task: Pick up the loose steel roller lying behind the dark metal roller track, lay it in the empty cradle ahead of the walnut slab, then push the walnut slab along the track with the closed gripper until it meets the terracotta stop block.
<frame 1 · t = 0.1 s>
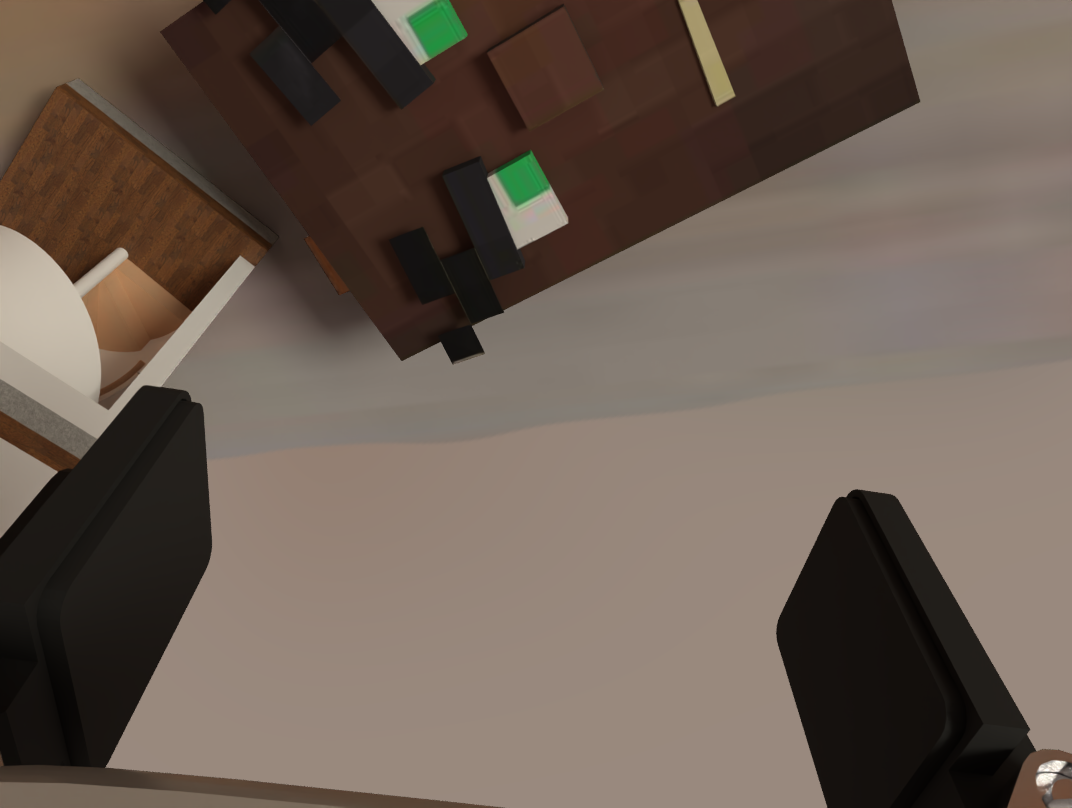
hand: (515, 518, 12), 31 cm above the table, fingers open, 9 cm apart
display case: (133, 232, 43), on the table
decorative book: (546, 40, 38), on the table
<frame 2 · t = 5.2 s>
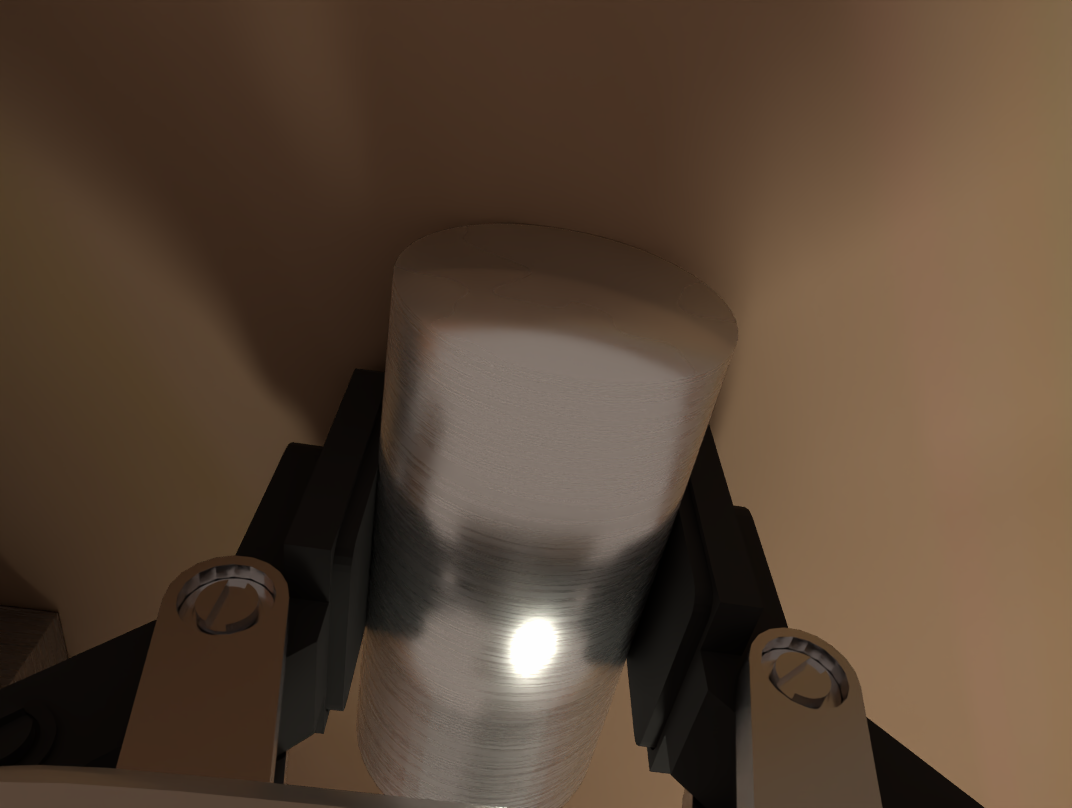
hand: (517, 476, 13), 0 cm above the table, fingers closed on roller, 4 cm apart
roller: (522, 461, 13), on the table, touching gripper
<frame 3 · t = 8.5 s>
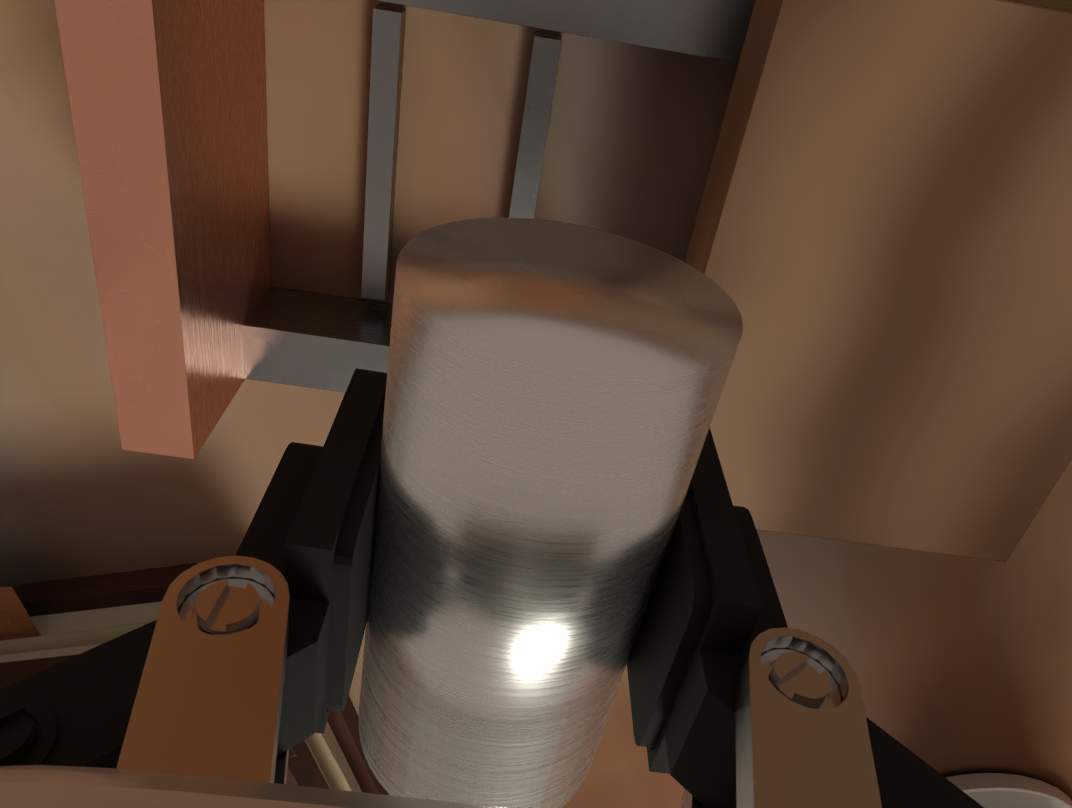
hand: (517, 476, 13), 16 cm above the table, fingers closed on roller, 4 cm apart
track: (637, 201, 26), on the table
slab: (904, 305, 22), point 5 cm above the table, slide at 0.0 cm
roller: (524, 457, 13), point 15 cm above the table, touching gripper
decorative book: (216, 736, 43), on the table
when the fingers open (2 cm above the table, at t = 11.9 s): roller drops 1 cm, resting in track.
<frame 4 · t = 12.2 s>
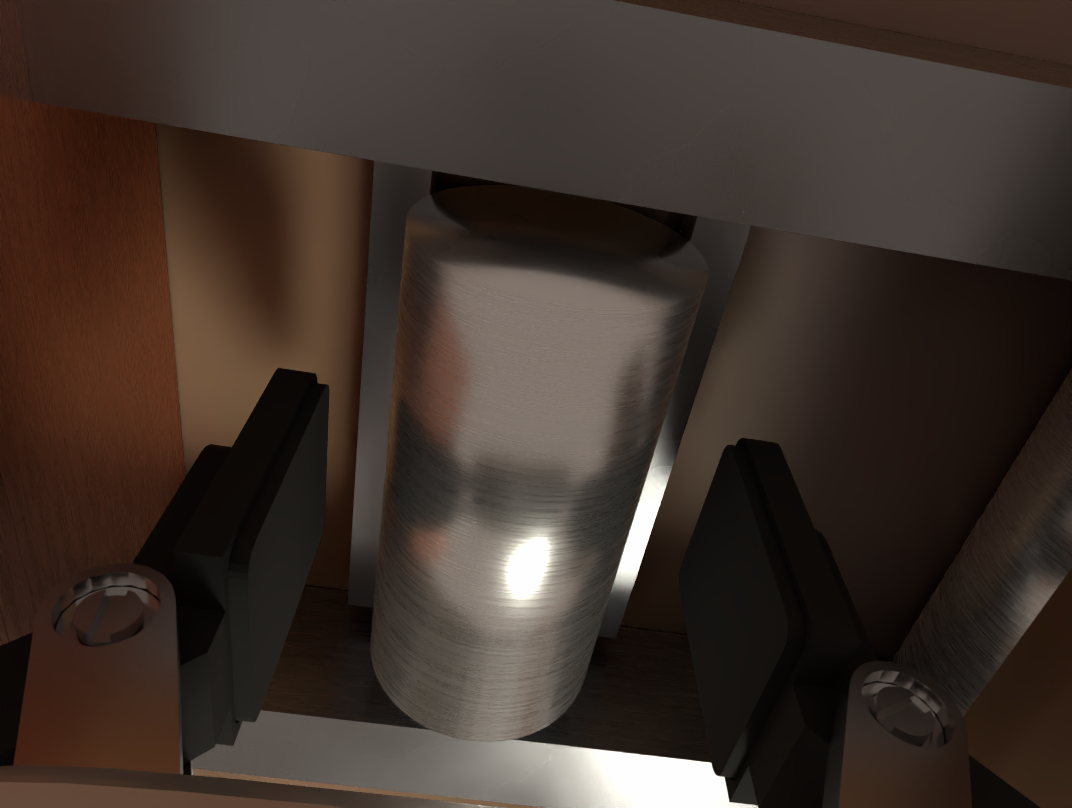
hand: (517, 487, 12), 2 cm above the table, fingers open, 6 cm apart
track: (842, 462, 15), on the table
roller: (532, 409, 14), resting in track, tilted 8°
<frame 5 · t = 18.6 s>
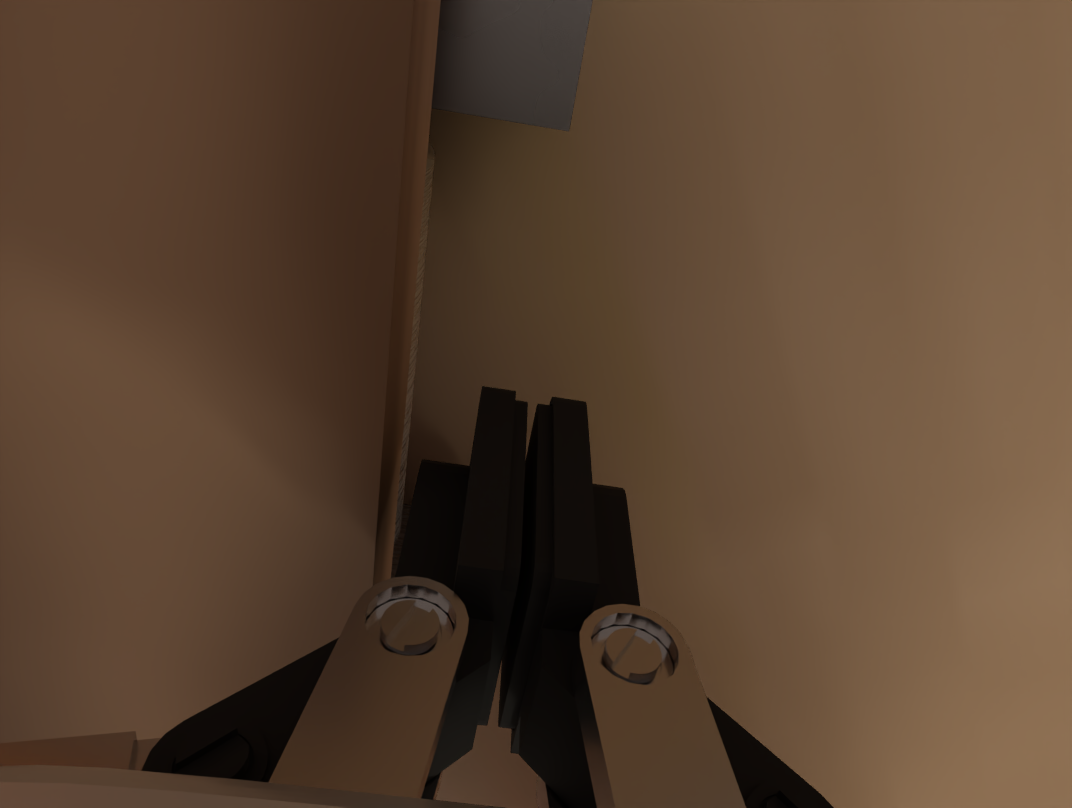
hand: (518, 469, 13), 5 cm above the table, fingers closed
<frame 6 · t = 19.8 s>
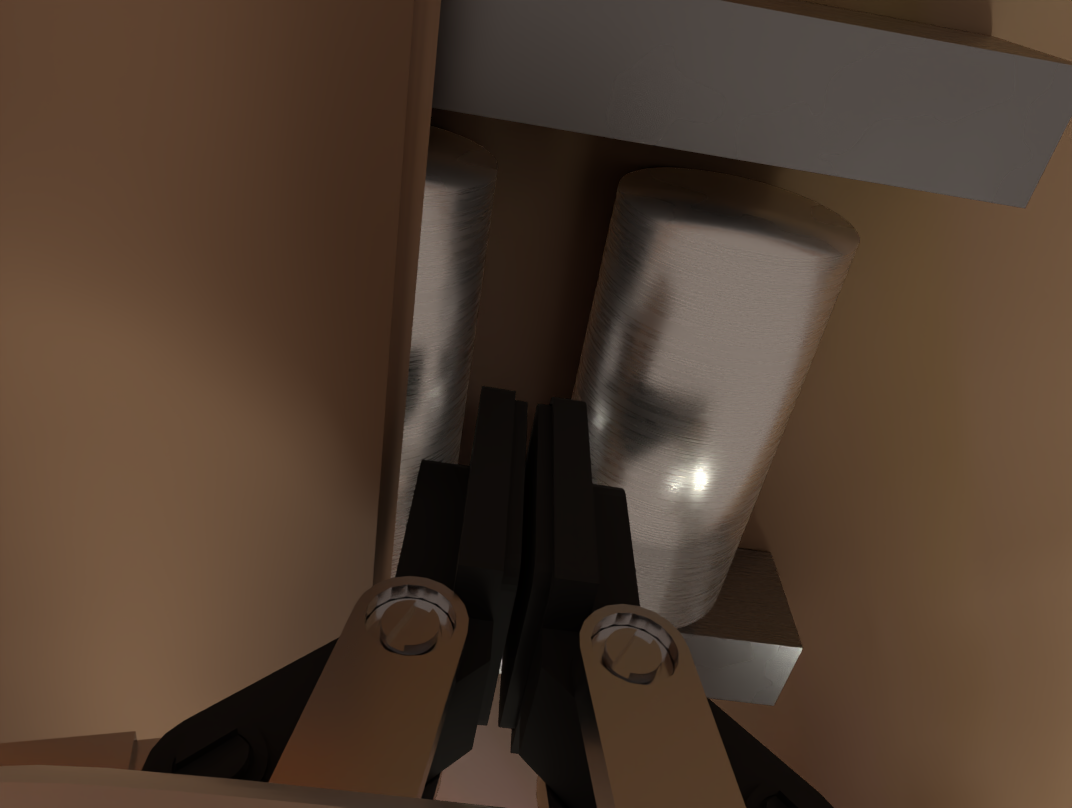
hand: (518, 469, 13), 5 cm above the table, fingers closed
track: (185, 285, 16), on the table
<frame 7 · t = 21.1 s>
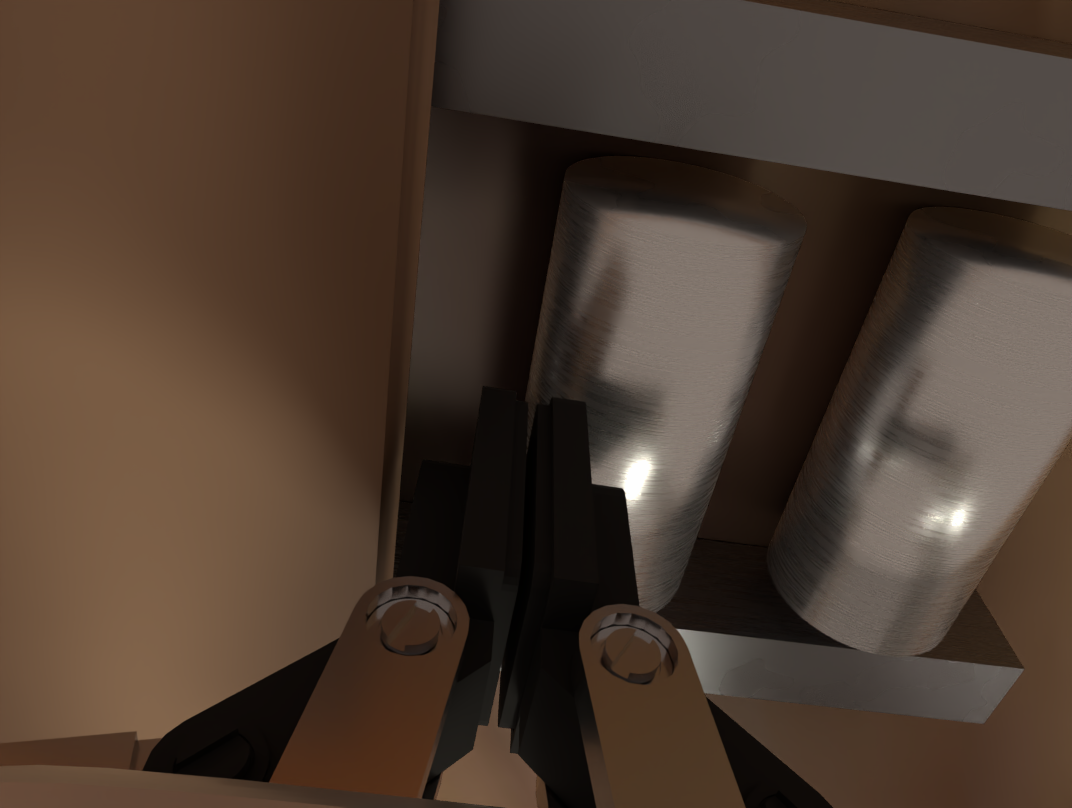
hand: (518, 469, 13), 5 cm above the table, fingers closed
track: (434, 320, 17), on the table
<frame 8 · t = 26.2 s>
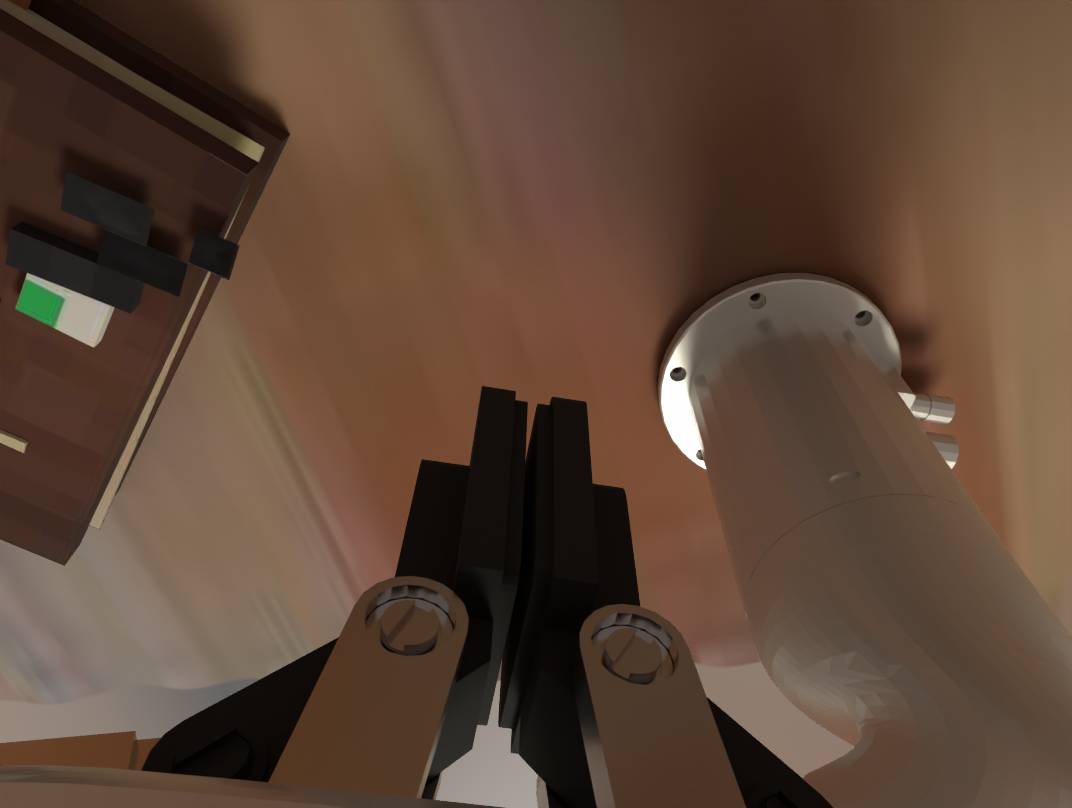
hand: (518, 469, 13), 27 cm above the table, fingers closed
decorative book: (38, 249, 41), on the table
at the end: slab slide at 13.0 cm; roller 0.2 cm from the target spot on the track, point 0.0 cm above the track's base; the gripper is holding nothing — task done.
